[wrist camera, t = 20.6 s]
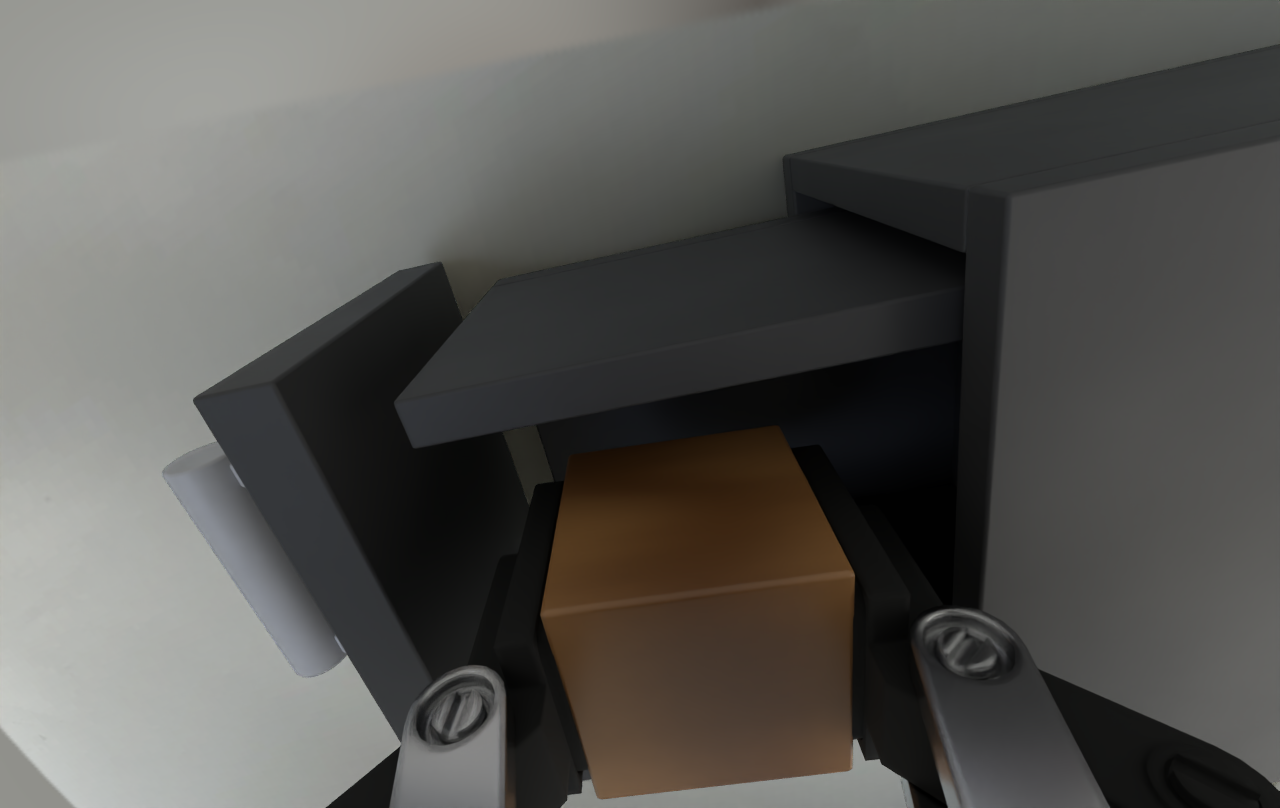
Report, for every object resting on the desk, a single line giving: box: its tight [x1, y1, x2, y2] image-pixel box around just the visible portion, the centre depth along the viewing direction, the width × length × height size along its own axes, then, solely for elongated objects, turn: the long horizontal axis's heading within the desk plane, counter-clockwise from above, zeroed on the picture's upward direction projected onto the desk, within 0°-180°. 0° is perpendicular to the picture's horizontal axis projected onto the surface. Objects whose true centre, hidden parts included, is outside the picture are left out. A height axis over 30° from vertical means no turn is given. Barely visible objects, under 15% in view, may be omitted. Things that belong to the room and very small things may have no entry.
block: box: [540, 425, 855, 799], centre depth 10 cm, size 4×4×4 cm
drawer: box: [162, 207, 966, 781], centre depth 13 cm, size 19×10×8 cm, turn 102°
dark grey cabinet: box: [783, 44, 1280, 783], centre depth 12 cm, size 16×12×10 cm
